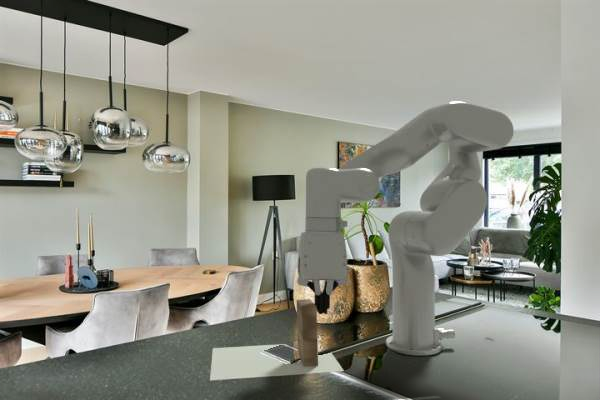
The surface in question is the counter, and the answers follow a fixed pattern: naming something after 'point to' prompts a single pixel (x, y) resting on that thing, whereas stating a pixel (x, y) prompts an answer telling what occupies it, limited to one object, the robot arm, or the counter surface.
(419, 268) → the robot arm
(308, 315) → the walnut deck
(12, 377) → the counter surface
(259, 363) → the mat
